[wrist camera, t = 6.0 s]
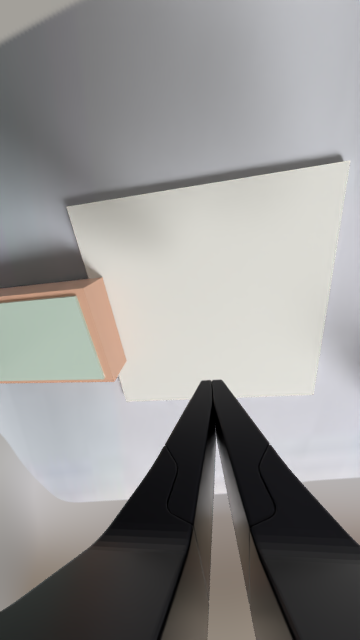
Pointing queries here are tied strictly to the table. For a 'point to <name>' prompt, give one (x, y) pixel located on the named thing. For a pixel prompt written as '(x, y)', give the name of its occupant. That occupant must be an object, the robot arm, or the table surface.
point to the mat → (219, 280)
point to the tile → (59, 333)
